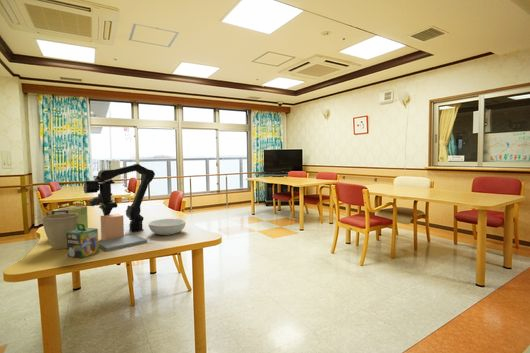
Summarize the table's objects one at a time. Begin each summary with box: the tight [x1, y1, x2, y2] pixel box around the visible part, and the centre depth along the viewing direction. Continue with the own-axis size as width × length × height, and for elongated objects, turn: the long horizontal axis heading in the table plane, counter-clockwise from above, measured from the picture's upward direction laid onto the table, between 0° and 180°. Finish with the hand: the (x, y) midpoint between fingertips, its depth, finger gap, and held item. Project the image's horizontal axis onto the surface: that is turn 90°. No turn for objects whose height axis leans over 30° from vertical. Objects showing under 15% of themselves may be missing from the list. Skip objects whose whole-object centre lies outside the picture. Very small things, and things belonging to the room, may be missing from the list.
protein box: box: [51, 205, 89, 229], centre depth 168 cm, size 10×15×16 cm
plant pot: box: [41, 213, 78, 250], centre depth 143 cm, size 15×15×16 cm
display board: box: [98, 233, 148, 252], centre depth 150 cm, size 20×16×2 cm
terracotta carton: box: [100, 213, 125, 241], centre depth 158 cm, size 9×8×13 cm
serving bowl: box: [148, 218, 186, 236], centre depth 171 cm, size 21×21×7 cm
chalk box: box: [66, 223, 100, 259], centre depth 132 cm, size 9×9×15 cm
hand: (106, 218), depth 164 cm, fingers closed
